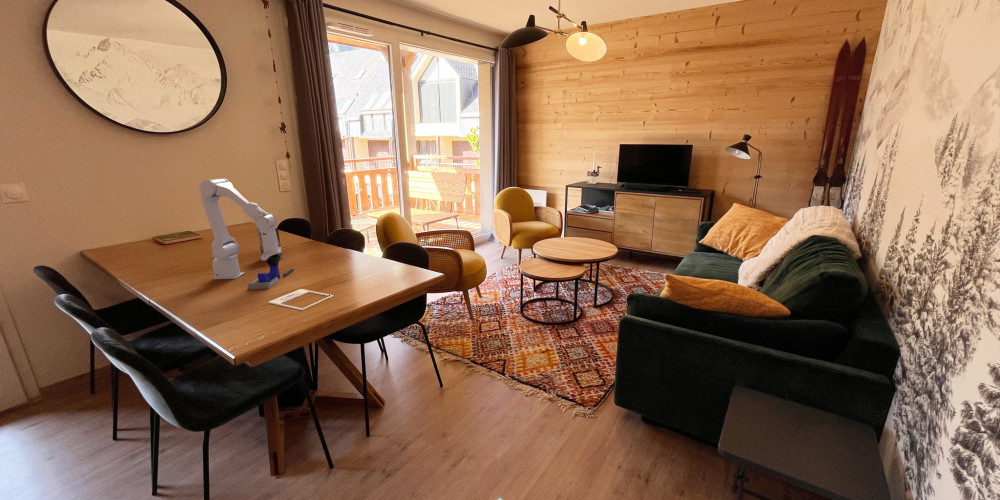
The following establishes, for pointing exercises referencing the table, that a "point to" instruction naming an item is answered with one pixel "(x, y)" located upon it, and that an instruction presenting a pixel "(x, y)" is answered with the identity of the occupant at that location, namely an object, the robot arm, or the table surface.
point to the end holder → (262, 284)
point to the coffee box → (262, 244)
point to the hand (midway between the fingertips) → (274, 271)
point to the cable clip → (269, 274)
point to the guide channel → (288, 272)
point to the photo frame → (294, 295)
